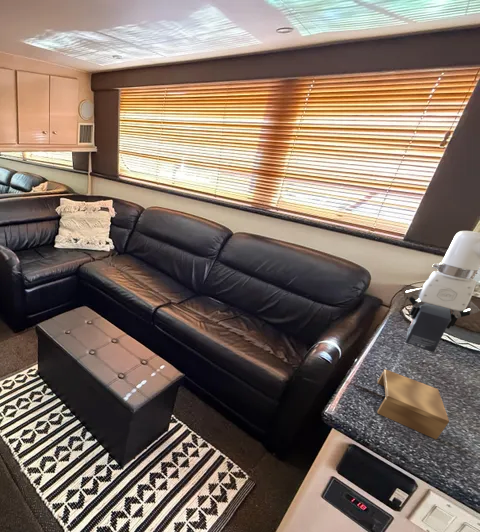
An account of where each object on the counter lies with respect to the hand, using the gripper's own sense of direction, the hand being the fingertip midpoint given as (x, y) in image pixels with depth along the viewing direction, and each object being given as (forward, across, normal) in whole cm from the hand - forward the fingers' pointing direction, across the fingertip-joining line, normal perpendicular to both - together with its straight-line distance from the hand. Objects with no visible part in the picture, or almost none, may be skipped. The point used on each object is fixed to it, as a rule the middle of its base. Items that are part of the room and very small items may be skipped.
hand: (429, 321), depth 103 cm
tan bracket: (+15, -4, -35) cm, 38 cm away
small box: (+8, 0, 0) cm, 8 cm away
